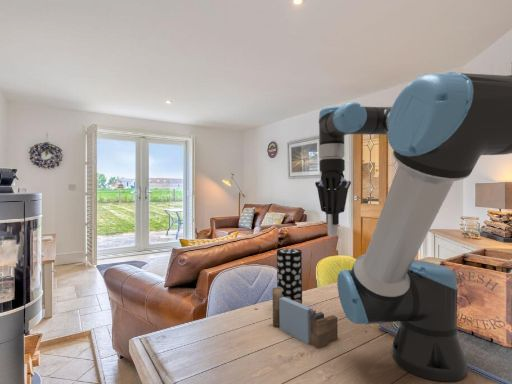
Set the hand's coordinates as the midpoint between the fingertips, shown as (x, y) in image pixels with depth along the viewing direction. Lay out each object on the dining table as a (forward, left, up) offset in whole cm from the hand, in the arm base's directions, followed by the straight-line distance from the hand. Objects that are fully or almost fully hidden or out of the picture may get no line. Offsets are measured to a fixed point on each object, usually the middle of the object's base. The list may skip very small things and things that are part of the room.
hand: (332, 235), depth 93 cm
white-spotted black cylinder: (+13, +7, -27) cm, 30 cm away
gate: (-2, +16, -26) cm, 31 cm away
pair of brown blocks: (-1, +13, -26) cm, 29 cm away
